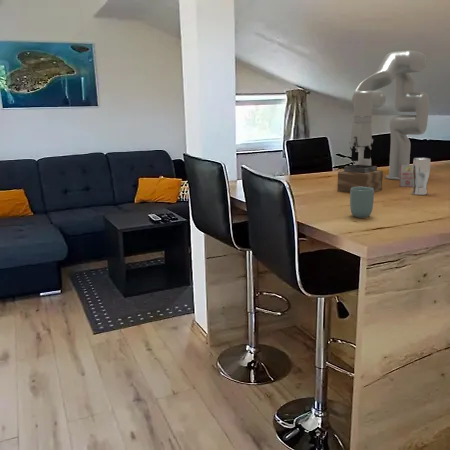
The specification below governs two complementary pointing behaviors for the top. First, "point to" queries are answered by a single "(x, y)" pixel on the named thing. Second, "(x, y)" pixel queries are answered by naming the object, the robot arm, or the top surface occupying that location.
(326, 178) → the top surface
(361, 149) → the milk bottle
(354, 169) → the housing
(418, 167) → the beer glass
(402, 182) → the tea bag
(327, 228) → the top surface
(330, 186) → the top surface
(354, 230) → the top surface
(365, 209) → the cup
